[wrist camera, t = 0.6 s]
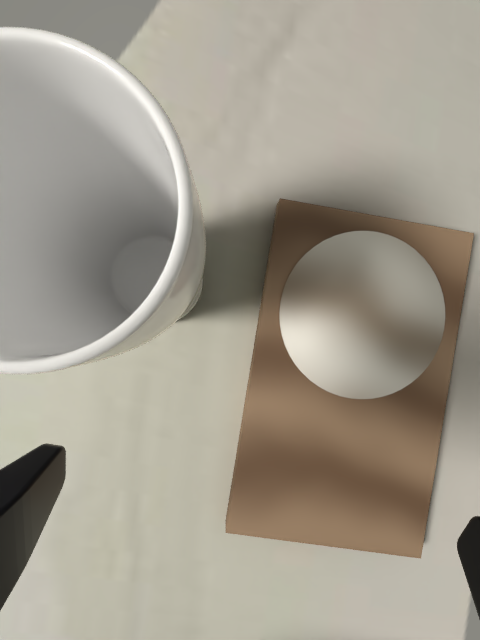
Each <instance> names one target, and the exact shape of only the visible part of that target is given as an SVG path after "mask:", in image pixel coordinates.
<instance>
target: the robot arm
mask: <svg viewBox="0 0 480 640" xmlns="http://www.w3.org/2000/svg"><path fill="white" fill-rule="evenodd" d="M65 474H66V451H65V448H64V447H63V446H59V445H53V444H43V445H41V446H39V447H37V448H35V449H34V450H32V451H30V452H29V453H27V454H26V455H24V456H22V457H21V458H19V459H17V460H16V461H14V462H12V463H11V464H9V465H7V466H6V467H4V468H2V469H1V470H0V610H1V609H2V607H3V605H4V603H5V602H6V600H7V598H8V596H9V595H10V593H11V591H12V590H13V588H14V586H15V584H16V583H17V581H18V579H19V577H20V576H21V574H22V572H23V570H24V568H25V566H26V565H27V562H28V560H29V558H30V556H31V554H32V552H33V550H34V548H35V546H36V543H37V541H38V539H39V537H40V535H41V532H42V530H43V528H44V526H45V524H46V522H47V519H48V517H49V515H50V513H51V511H52V509H53V506H54V504H55V502H56V500H57V498H58V495H59V493H60V491H61V489H62V487H63V484H64V480H65ZM457 550H458V554H459V557H460V560H461V563H462V566H463V569H464V572H465V576H466V579H467V582H468V585H469V588H470V591H471V594H472V597H473V600H474V603H475V606H476V610H477V613H478V616H479V619H480V516H475V517H473V518H472V519H471V520H470V521H469V523H468V525H467V526H466V528H465V529H464V531H463V532H462V534H461V535H460V537H459V539H458V542H457Z"/></svg>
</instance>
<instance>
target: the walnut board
mask: <svg viewBox="0 0 480 640" xmlns="http://www.w3.org/2000/svg"><path fill="white" fill-rule="evenodd" d="M473 236H474V233H469V232H463V231H458V230H452V229H447V228H441V227H435V226H430V225H424V224H419V223H413V222H408V221H402V220H397V219H391V218H386V217H380V216H374V215H369V214H363V213H358V212H352V211H347V210H341V209H336V208H330V207H325V206H319V205H314V204H308V203H302V202H297V201H291V200H286V199H280V200H279V202H278V204H277V208H276V214H275V220H274V226H273V232H272V238H271V244H270V251H269V257H268V263H267V269H266V275H265V281H264V288H263V294H262V300H261V306H260V312H259V318H258V325H257V331H256V337H255V343H254V349H253V355H252V362H251V368H250V374H249V380H248V386H247V392H246V398H245V405H244V411H243V417H242V423H241V429H240V435H239V442H238V448H237V454H236V460H235V466H234V472H233V479H232V485H231V491H230V497H229V503H228V509H227V516H226V533H232V534H239V535H247V536H254V537H262V538H270V539H277V540H285V541H292V542H300V543H308V544H315V545H323V546H330V547H338V548H346V549H353V550H361V551H368V552H376V553H384V554H391V555H399V556H406V557H414V558H421V554H422V548H423V542H424V536H425V530H426V524H427V517H428V511H429V505H430V499H431V493H432V487H433V481H434V475H435V469H436V462H437V456H438V450H439V444H440V438H441V432H442V426H443V420H444V413H445V407H446V401H447V395H448V389H449V383H450V377H451V371H452V365H453V358H454V352H455V346H456V340H457V334H458V328H459V322H460V316H461V310H462V303H463V297H464V291H465V285H466V279H467V273H468V267H469V261H470V254H471V248H472V242H473Z"/></svg>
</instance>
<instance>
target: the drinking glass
mask: <svg viewBox="0 0 480 640" xmlns="http://www.w3.org/2000/svg"><path fill="white" fill-rule="evenodd" d="M205 259H206V234H205V224H204V218H203V213H202V208H201V203H200V199H199V195H198V192H197V188H196V185H195V182H194V179H193V175H192V172H191V170H190V167H189V164H188V161H187V158H186V155H185V152H184V149H183V146H182V144H181V141H180V139H179V136H178V134H177V132H176V130H175V128H174V126H173V124H172V123H171V121H170V119H169V117H168V116H167V114H166V113H165V111H164V109H163V108H162V106H161V105H160V103H159V102H158V101H157V100H156V98H155V97H154V96H153V95H152V93H151V92H150V91H149V90H148V89H147V88H146V87H145V86H144V85H143V84H142V83H141V81H140V80H139V79H138V78H137V77H136V76H134V75H133V74H132V73H131V72H130V71H128V70H127V69H126V68H125V67H124V66H123V65H121V64H120V63H118V62H117V61H115V60H114V59H113V58H111V57H110V56H108V55H106V54H105V53H103V52H101V51H99V50H98V49H96V48H94V47H92V46H90V45H88V44H85V43H83V42H81V41H79V40H76V39H73V38H71V37H68V36H65V35H62V34H58V33H54V32H50V31H45V30H40V29H33V28H25V27H0V373H2V374H37V373H47V372H52V371H57V370H62V369H66V368H70V367H74V366H79V365H84V364H89V363H93V362H97V361H100V360H104V359H107V358H110V357H114V356H117V355H120V354H123V353H125V352H127V351H130V350H132V349H135V348H137V347H139V346H141V345H143V344H145V343H147V342H149V341H151V340H153V339H154V338H156V337H157V336H159V335H160V334H162V333H163V332H165V331H166V330H167V329H168V328H170V327H171V326H172V325H173V324H174V323H175V322H176V321H177V320H179V319H181V318H182V317H184V316H185V315H187V314H188V313H189V312H190V311H191V310H192V309H193V307H194V306H195V305H196V303H197V301H198V299H199V297H200V294H201V291H202V286H203V272H204V267H205Z"/></svg>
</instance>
